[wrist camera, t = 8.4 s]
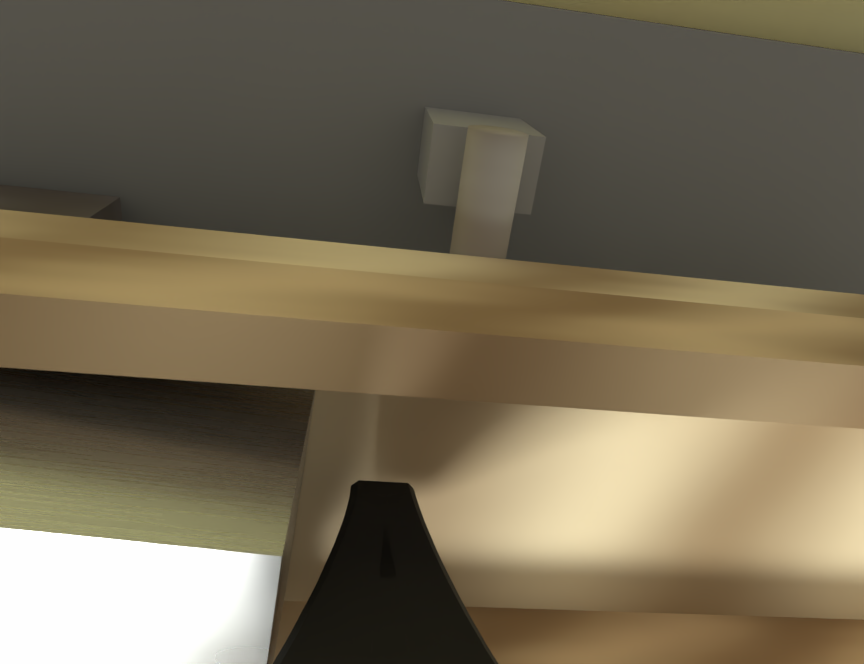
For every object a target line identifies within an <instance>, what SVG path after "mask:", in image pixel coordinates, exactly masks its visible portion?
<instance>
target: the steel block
mask: <svg viewBox="0 0 864 664" xmlns="http://www.w3.org/2000/svg"><path fill="white" fill-rule="evenodd" d="M315 392H316V390H311V389H297V388H283V387H269V386H255V385H241V384H227V383H213V382H199V381H185V380H171V379H157V378H143V377H129V376H115V375H101V374H87V373H73V372H59V371H45V370H31V369H17V368H3V367H0V664H273V659H274V653H275V648H276V642H277V637H278V631H279V625H280V620H281V614H282V608H283V603H284V597H285V591H286V586H287V579H288V572H289V566H290V559H291V552H292V545H293V539H294V532H295V525H296V519H297V512H298V505H299V499H300V492H301V485H302V479H303V472H304V465H305V459H306V452H307V445H308V439H309V432H310V425H311V419H312V412H313V405H314V399H315Z"/></svg>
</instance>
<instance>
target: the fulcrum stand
mask: <svg viewBox="0 0 864 664" xmlns="http://www.w3.org/2000/svg"><path fill="white" fill-rule="evenodd" d="M470 125H487V126H496V127H503V128H508V129H513V130H517V131H521V132H524V133H526V134H528V135H529V137H528V142H527V148H526V153H525V158H524V164H523V169H522V175H521V180H520V185H519V191H518V196H517V201H516V207H515V212H514V217H513V223H512V228H511V233H510V239H509V244H508V249H507V255H506V259H508V260H518V261H528V262H539V263H549V264H559V265H569V266H579V267H589V268H599V269H609V270H620V271H630V272H640V273H650V274H660V275H670V276H680V277H691V278H701V279H711V280H721V281H731V282H741V283H751V284H761V285H772V286H782V287H792V288H802V289H812V290H822V291H832V292H843V293H853V294H863V295H864V54H863V53H856V52H849V51H842V50H835V49H829V48H822V47H815V46H808V45H802V44H795V43H788V42H781V41H775V40H768V39H761V38H754V37H748V36H741V35H734V34H727V33H720V32H714V31H707V30H700V29H693V28H687V27H680V26H673V25H666V24H660V23H653V22H646V21H639V20H632V19H626V18H619V17H612V16H605V15H599V14H592V13H585V12H578V11H572V10H565V9H558V8H551V7H545V6H538V5H531V4H524V3H517V2H511V1H504V0H0V185H9V186H19V187H28V188H38V189H48V190H58V191H67V192H77V193H87V194H96V195H106V196H116V197H120V200H121V211H122V221H123V222H133V223H143V224H153V225H164V226H174V227H184V228H194V229H204V230H214V231H224V232H234V233H245V234H255V235H265V236H275V237H285V238H295V239H305V240H316V241H326V242H336V243H346V244H356V245H366V246H376V247H386V248H397V249H407V250H417V251H427V252H437V253H447V254H450V247H451V240H452V233H453V226H454V219H455V212H456V205H457V199H458V192H459V185H460V178H461V171H462V164H463V157H464V150H465V144H466V137H467V130H468V126H470Z"/></svg>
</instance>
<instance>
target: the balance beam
mask: <svg viewBox="0 0 864 664" xmlns="http://www.w3.org/2000/svg"><path fill="white" fill-rule="evenodd" d="M528 137H529V135H528V134H526V133H524V132H521V131H517V130H513V129H508V128H503V127H496V126H487V125H470V126H468V130H467V137H466V144H465V150H464V157H463V164H462V171H461V178H460V185H459V192H458V199H457V205H456V212H455V219H454V226H453V233H452V240H451V247H450V254H447V253H437V252H427V251H417V250H407V249H397V248H386V247H376V246H366V245H356V244H346V243H336V242H326V241H316V240H305V239H295V238H285V237H275V236H265V235H255V234H245V233H234V232H224V231H214V230H204V229H194V228H184V227H174V226H164V225H153V224H143V223H133V222H123V221H122V211H121V200H120V197H116V196H106V195H96V194H87V193H77V192H67V191H58V190H48V189H38V188H28V187H19V186H9V185H0V367H3V368H17V369H31V370H45V371H59V372H73V373H87V374H101V375H115V376H129V377H143V378H157V379H171V380H185V381H199V382H213V383H227V384H241V385H255V386H269V387H283V388H297V389H311V390H316V392H315V399H314V405H313V412H312V419H311V425H310V432H309V439H308V445H307V452H306V459H305V465H304V472H303V479H302V485H301V492H300V499H299V505H298V512H297V519H296V525H295V532H294V539H293V545H292V552H291V559H290V566H289V572H288V579H287V586H286V591H285V597H284V603H283V608H282V614H281V620H280V625H279V631H278V637H277V642H276V648H275V653H274V659H273V662H274V660H275V659H276V657H277V655H278V654H279V652H280V650H281V649H282V647H283V645H284V643H285V642H286V640H287V638H288V636H289V635H290V633H291V631H292V629H293V627H294V625H295V623H296V622H297V620H298V618H299V616H300V614H301V612H302V610H303V608H304V607H305V605H306V603H307V601H308V599H309V597H310V595H311V593H312V591H313V589H314V587H315V585H316V583H317V581H318V579H319V577H320V575H321V572H322V570H323V568H324V566H325V563H326V561H327V559H328V557H329V555H330V552H331V550H332V548H333V546H334V543H335V540H336V538H337V535H338V532H339V530H340V527H341V525H342V522H343V519H344V515H345V512H346V509H347V505H348V501H349V496H350V489H351V485H353V484H354V483H355V482H357V481H358V480H363V481H382V482H401V483H409V484H410V485H411V486H412V488H413V489H414V491H415V495H416V498H417V501H418V504H419V507H420V510H421V513H422V515H423V518H424V521H425V523H426V526H427V528H428V531H429V533H430V535H431V538H432V540H433V542H434V545H435V547H436V549H437V551H438V554H439V556H440V558H441V560H442V562H443V564H444V566H445V568H446V570H447V572H448V574H449V576H450V578H451V580H452V582H453V584H454V586H455V588H456V590H457V592H458V594H459V596H460V598H461V600H462V602H463V604H464V606H465V607H466V609H467V611H468V613H469V615H470V617H471V618H472V620H473V622H474V624H475V625H476V627H477V629H478V630H479V632H480V634H481V636H482V637H483V639H484V641H485V643H486V644H487V646H488V648H489V649H490V651H491V653H492V654H493V656H494V657H495V659H496V661H497V662H498V664H864V295H863V294H853V293H843V292H832V291H822V290H812V289H802V288H792V287H782V286H772V285H761V284H751V283H741V282H731V281H721V280H711V279H701V278H691V277H680V276H670V275H660V274H650V273H640V272H630V271H620V270H609V269H599V268H589V267H579V266H569V265H559V264H549V263H539V262H528V261H518V260H508V259H506V255H507V249H508V244H509V239H510V233H511V228H512V223H513V217H514V212H515V207H516V201H517V196H518V191H519V185H520V180H521V175H522V169H523V164H524V158H525V153H526V148H527V142H528Z"/></svg>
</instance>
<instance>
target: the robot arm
mask: <svg viewBox="0 0 864 664" xmlns="http://www.w3.org/2000/svg"><path fill="white" fill-rule="evenodd" d="M273 664H498V662H497V661H496V659H495V657H494V656H493V654H492V653H491V651H490V649H489V648H488V646H487V644H486V643H485V641H484V639H483V637H482V636H481V634H480V632H479V630H478V629H477V627H476V625H475V624H474V622H473V620H472V618H471V617H470V615H469V613H468V611H467V609H466V607H465V606H464V604H463V602H462V600H461V598H460V596H459V594H458V592H457V590H456V588H455V586H454V584H453V582H452V580H451V578H450V576H449V574H448V572H447V570H446V568H445V566H444V564H443V562H442V560H441V558H440V556H439V554H438V551H437V549H436V547H435V545H434V542H433V540H432V538H431V535H430V533H429V531H428V528H427V526H426V523H425V521H424V518H423V515H422V513H421V510H420V507H419V504H418V501H417V498H416V495H415V491H414V489H413V488H412V486H411V485H410V484H409V483H401V482H382V481H363V480H358V481H357V482H355V483H354V484H353V485H351V489H350V496H349V501H348V505H347V509H346V512H345V515H344V519H343V522H342V525H341V527H340V530H339V532H338V535H337V538H336V540H335V543H334V546H333V548H332V550H331V552H330V555H329V557H328V559H327V561H326V563H325V566H324V568H323V570H322V572H321V575H320V577H319V579H318V581H317V583H316V585H315V587H314V589H313V591H312V593H311V595H310V597H309V599H308V601H307V603H306V605H305V607H304V608H303V610H302V612H301V614H300V616H299V618H298V620H297V622H296V623H295V625H294V627H293V629H292V631H291V633H290V635H289V636H288V638H287V640H286V642H285V643H284V645H283V647H282V649H281V650H280V652H279V654H278V655H277V657H276V659H275V660H274V662H273Z"/></svg>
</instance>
